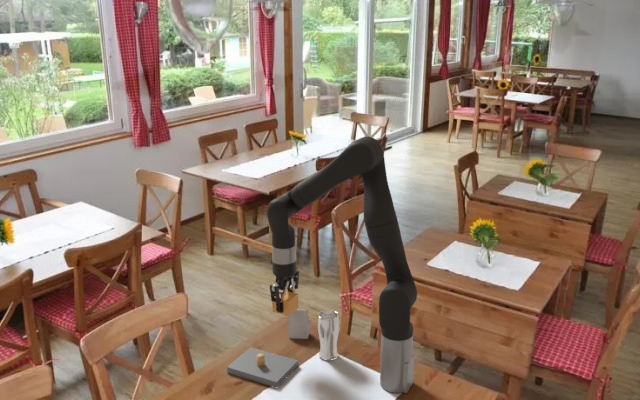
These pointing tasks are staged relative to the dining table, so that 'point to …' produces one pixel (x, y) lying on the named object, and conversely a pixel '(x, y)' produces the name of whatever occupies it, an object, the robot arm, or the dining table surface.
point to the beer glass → (328, 333)
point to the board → (263, 367)
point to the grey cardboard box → (298, 324)
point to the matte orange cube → (287, 303)
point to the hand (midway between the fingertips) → (285, 307)
